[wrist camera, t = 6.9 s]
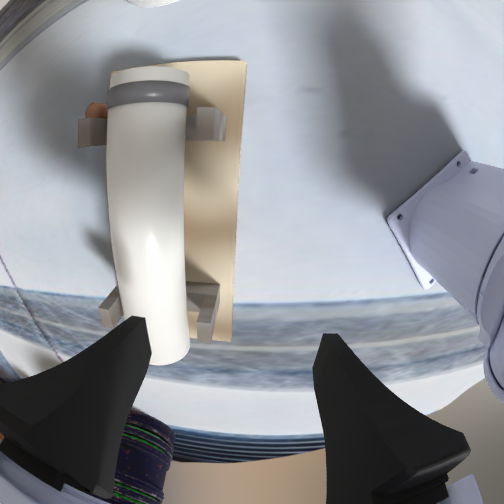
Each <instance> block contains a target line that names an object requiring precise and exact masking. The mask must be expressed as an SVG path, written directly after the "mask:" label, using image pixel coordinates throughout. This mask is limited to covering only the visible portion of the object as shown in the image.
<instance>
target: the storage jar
mask: <svg viewBox="0 0 504 504" xmlns="http://www.w3.org/2000/svg"><path fill="white" fill-rule="evenodd" d="M175 438H176V436H175V433H174V432H173V430H172V429H171V428H169V427H168V426H167V425H166V424H164V423H163V422H161V421H159V420H157V419H155V418H153V417H151V416H149V415H146V414H143V413H140V412H137V411H133V410H130V412H129V415H128V418H127V420H126V424H125V428H124V431H123V435H122V439H121V444H120V448H119V453H118V458H117V464H116V471H115V479H114V490H113V497H111V498H108V499H105V498H102V497H100V496H97V495H95V494H89V493H87V492H85V491H84V493H86V494H88V495H90V496H93V497H95V498H97V499H100V500H102V501H105V502H107V503H110V504H161V503H162V501H163V499H164V497H163V496H164V493H163V491H162V490H163V485H164V480H165V476H166V471H168V470H169V467H170V462H171V460H172V456H173V447H174V446H173V444H174V442H175Z"/></svg>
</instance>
